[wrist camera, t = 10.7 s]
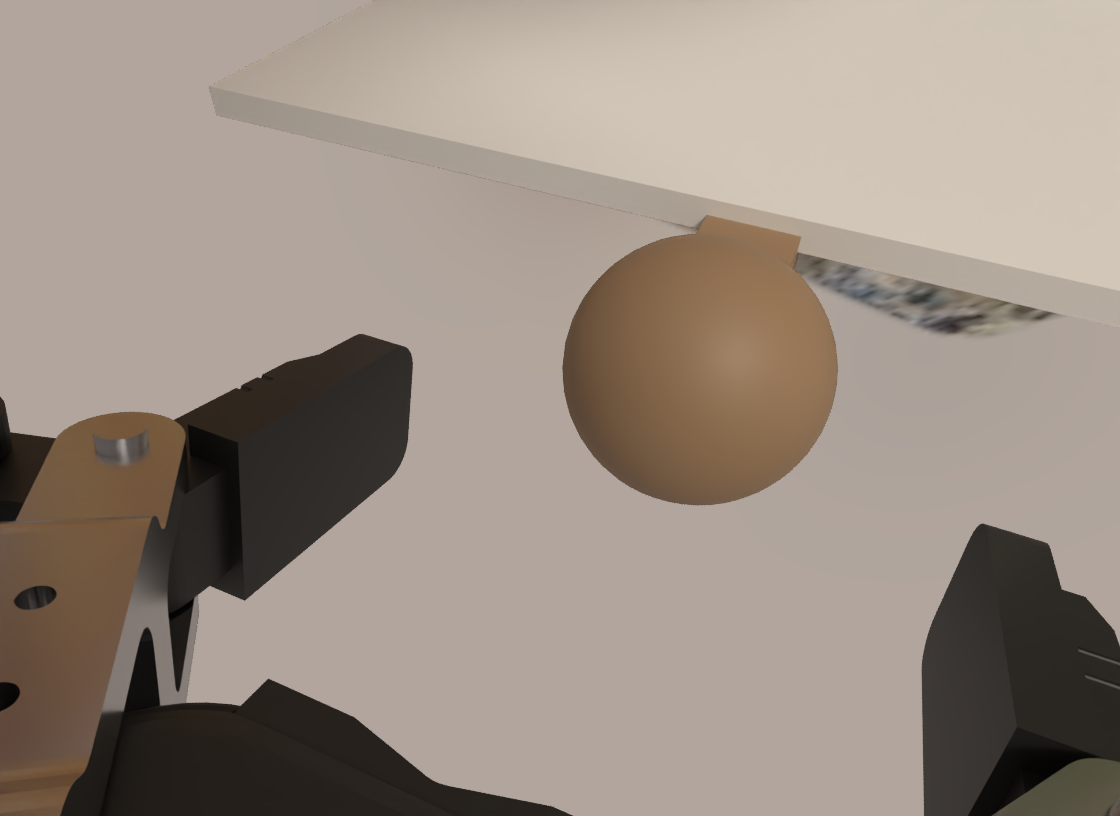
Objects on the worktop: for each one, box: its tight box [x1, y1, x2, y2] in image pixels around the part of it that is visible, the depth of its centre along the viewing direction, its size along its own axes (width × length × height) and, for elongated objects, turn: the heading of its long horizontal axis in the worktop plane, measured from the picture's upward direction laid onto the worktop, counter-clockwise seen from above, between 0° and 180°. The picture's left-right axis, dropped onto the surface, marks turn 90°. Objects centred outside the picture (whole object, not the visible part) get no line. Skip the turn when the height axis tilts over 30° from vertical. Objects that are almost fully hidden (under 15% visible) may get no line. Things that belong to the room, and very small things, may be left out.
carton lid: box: [209, 0, 1120, 505], centre depth 19 cm, size 23×22×4 cm
